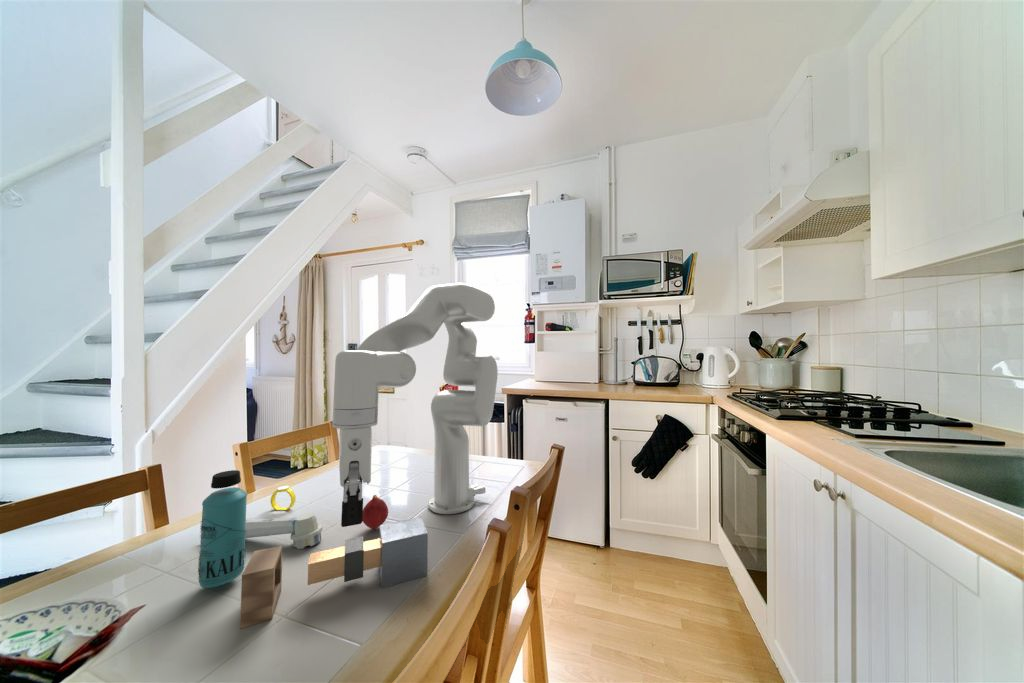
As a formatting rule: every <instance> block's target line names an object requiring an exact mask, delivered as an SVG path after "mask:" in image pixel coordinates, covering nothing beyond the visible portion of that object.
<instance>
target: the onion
mask: <svg viewBox="0 0 1024 683" xmlns="http://www.w3.org/2000/svg"><path fill="white" fill-rule="evenodd" d="M371 498H372V499H371V500H369V501H367V503H366V505H365V506H363V520H362V523H363V524H364V525H365V526H366V527H367V528H368V529H371V530H376V529H379V528H380V525H384V524H385V521H386V520H387V518H388V516H389V507H388V505H387V504H386V501H385V500H383V499H382V498H379V497H378V496H377V494H373V496H372V497H371Z"/></svg>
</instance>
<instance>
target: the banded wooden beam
mask: <svg viewBox="0 0 1024 683" xmlns="http://www.w3.org/2000/svg"><path fill="white" fill-rule="evenodd" d="M309 555H310V556H309V558H308V564H307V586H310V585H313V584H318V583H321V582H326V581H330V580H333V579H338V578H341V577H343V583H348V582H350V581H355V580H359V579H362V578H364V571H365V572H366V571H369V570H372V569H376V568H379V567H381V564H382V544H381V538H380V537H378V538H373V539H370V540H365V541H364V536H363V535H362V536H357V537H353V538H350V539H345V544H344V546H338V547H334V548H330V549H325V550H321V551H316V552H312V553H310V554H309Z"/></svg>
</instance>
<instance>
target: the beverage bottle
mask: <svg viewBox="0 0 1024 683" xmlns="http://www.w3.org/2000/svg"><path fill="white" fill-rule="evenodd" d="M241 482H242V479H241V471H240V470H236V469H232V470H225V471H220V472H217V473H216V474H213V475H212V477H211V483H210V487H211V489H215V491H213V492H211V493H210V494H209V495H208V496H207V497H206V498H204V500H202V504H201V505H202V511H201V512H202V513H201V514H202V515H201V521H200V525H199V527H200V536H199V539H200V540H199V541H200V544H199V545H200V548H199V550H200V551H199V556H198V569H197V570H198V571H197V574H198V577H197V579H198V584H199V586H200V587H201V588H205V589H209V588H215V587H219V586H222V585H225V584H227V583H229V582H232V581H233V580H235V579H237V578H238V577H239V576H241V575H242V574H243V572H244V570H245V559H246V549H247V548H246V538H245V535H246V533H247V532H246V530H245V526H246V520H247V499H248V498H247V497H248V492H247V491H245V490H244V489H242V488H241V487H236V486H237V485H238V484H240V483H241ZM234 486H235V487H234ZM216 489H218V490H216Z"/></svg>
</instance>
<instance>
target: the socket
mask: <svg viewBox="0 0 1024 683" xmlns="http://www.w3.org/2000/svg"><path fill="white" fill-rule="evenodd" d="M282 574H283V544H282V545H277V546H273V547H269V548H263V549H258V550H254V551H253V552H252V555H251V557H250V558H249V560H248V563H247V565H245V567H244V569H243V572H242V573H241V588H240V589H241V592H240V593H241V594H240V619H239V620H240V622H239V623H240V624H239V628H240V629H242V628H247V627H250V626H254V625H257V624H261V623H264V622H267V621H271V620H273V618H274V615H275V612H276V608H277V606H278V603H279V599H280V596H281V592H282V577H283V576H282Z"/></svg>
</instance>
